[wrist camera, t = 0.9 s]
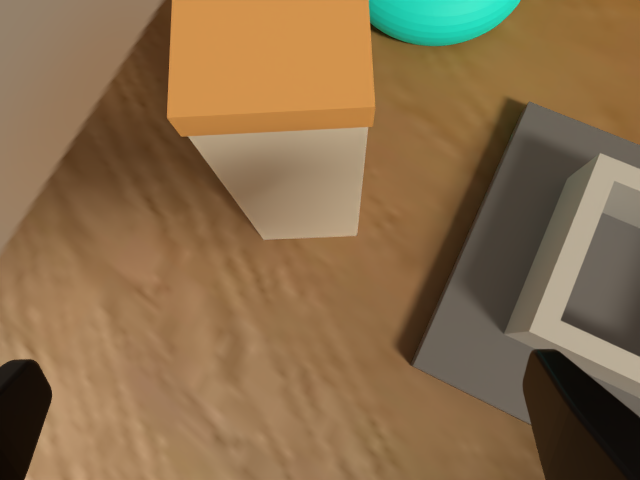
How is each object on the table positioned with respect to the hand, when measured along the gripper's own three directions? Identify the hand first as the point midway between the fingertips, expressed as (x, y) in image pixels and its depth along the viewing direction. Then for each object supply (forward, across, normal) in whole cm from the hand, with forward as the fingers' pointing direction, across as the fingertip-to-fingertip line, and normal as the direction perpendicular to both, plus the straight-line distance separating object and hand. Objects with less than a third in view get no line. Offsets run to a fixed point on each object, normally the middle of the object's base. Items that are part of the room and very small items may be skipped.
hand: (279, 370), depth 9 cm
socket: (+12, -14, +8) cm, 20 cm away
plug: (+16, 0, +4) cm, 16 cm away
